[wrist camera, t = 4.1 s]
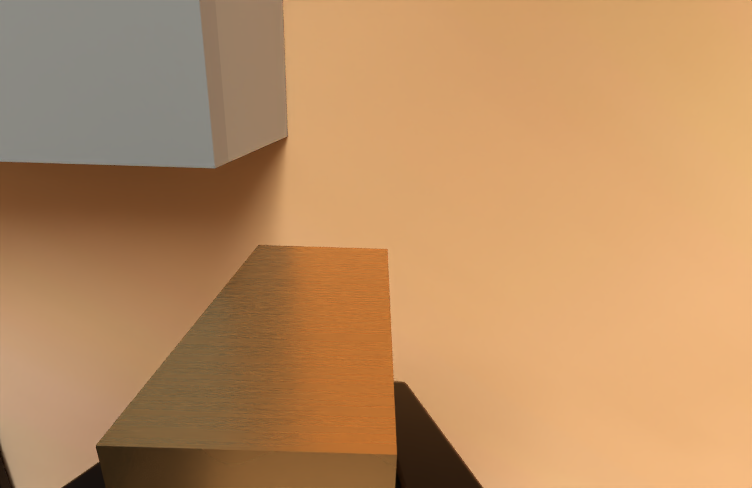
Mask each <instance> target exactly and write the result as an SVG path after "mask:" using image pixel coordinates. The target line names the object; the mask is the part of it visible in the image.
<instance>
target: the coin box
mask: <svg viewBox="0 0 752 488" xmlns="http://www.w3.org/2000/svg"><path fill="white" fill-rule="evenodd" d="M287 136H288V131H287V104H286V78H285V51H284V24H283V0H0V162H31V163H63V164H95V165H127V166H159V167H191V168H217V167H219V166H221V165H224V164H226V163H228V162H230V161H233V160H235V159H237V158H240V157H242V156H244V155H246V154H249V153H251V152H253V151H255V150H258V149H260V148H262V147H265V146H267V145H269V144H271V143H274V142H276V141H278V140H280V139H283V138H285V137H287Z"/></svg>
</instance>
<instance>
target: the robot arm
mask: <svg viewBox="0 0 752 488" xmlns="http://www.w3.org/2000/svg"><path fill="white" fill-rule="evenodd" d="M394 402H395V423H396V445H397V463H396V480H395V488H483V487H482V485H481V484H480V483H479V481H478V480H477V479H476V477H475V476H474V475H473V473H472V472H471V471H470V469H469V468H468V466H467V465H466V464H465V462H464V461H463V460H462V458H461V457H460V456H459V454H458V453H457V452H456V450H455V449H454V447H453V446H452V445H451V443H450V442H449V441H448V439H447V438H446V437H445V435H444V434H443V433H442V431H441V430H440V429H439V427H438V426H437V424H436V423H435V422H434V420H433V419H432V418H431V416H430V415H429V414H428V412H427V411H426V410H425V408H424V407H423V405H422V404H421V403H420V401H419V400H418V399H417V397H416V396H415V395H414V393H413V392H412V391H411V389H410V388H409V386H408V385H407V384H406V383H405V382H398V381H394ZM0 488H11V486H10V483H9V480H8V477H7V474H6V471H5V468H4V465H3V462H2V459H1V456H0ZM62 488H106V486H105V482H104V478H103V474H102V470H101V465H100V462H98V463H97V464H95V465H94V466H92V467H91V468H90V469H88V470H87V471H85V472H84V473H82V474H81V475H79V476H78V477H77V478H75V479H74V480H72V481H71V482H69V483H68V484H66V485H65V486H64V487H62Z"/></svg>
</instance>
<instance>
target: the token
mask: <svg viewBox="0 0 752 488" xmlns="http://www.w3.org/2000/svg"><path fill="white" fill-rule="evenodd" d="M96 449H97V453H98V457H99V461H100V465H101V470H102V474H103V478H104V482H105V486H106V488H395V480H396V463H397V445H396V423H395V402H394V380H393V359H392V337H391V316H390V295H389V273H388V252H387V249H367V248H334V247H301V246H268V245H258V247H257V248H256V249H255V250H254V251H253V253H252V254H251V255H250V256H249V258H248V259H247V260H246V261H245V263H244V264H243V265H242V266H241V267H240V269H239V270H238V271H237V272H236V274H235V275H234V276H233V277H232V279H231V280H230V281H229V282H228V283H227V285H226V286H225V287H224V288H223V290H222V291H221V292H220V293H219V295H218V296H217V297H216V298H215V299H214V301H213V302H212V303H211V304H210V306H209V307H208V308H207V309H206V311H205V312H204V313H203V314H202V315H201V317H200V318H199V319H198V320H197V322H196V323H195V324H194V325H193V327H192V328H191V329H190V330H189V331H188V333H187V334H186V335H185V336H184V338H183V339H182V340H181V341H180V343H179V344H178V345H177V346H176V347H175V349H174V350H173V351H172V352H171V354H170V355H169V356H168V357H167V359H166V360H165V361H164V362H163V364H162V365H161V366H160V367H159V368H158V370H157V371H156V372H155V373H154V375H153V376H152V377H151V378H150V380H149V381H148V382H147V383H146V384H145V386H144V387H143V388H142V389H141V391H140V392H139V393H138V394H137V396H136V397H135V398H134V399H133V400H132V402H131V403H130V404H129V405H128V407H127V408H126V409H125V410H124V412H123V413H122V414H121V415H120V416H119V418H118V419H117V420H116V421H115V423H114V424H113V425H112V426H111V428H110V429H109V430H108V431H107V432H106V434H105V435H104V436H103V437H102V439H101V440H100V441H99V442H98V444H97V445H96Z"/></svg>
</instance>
